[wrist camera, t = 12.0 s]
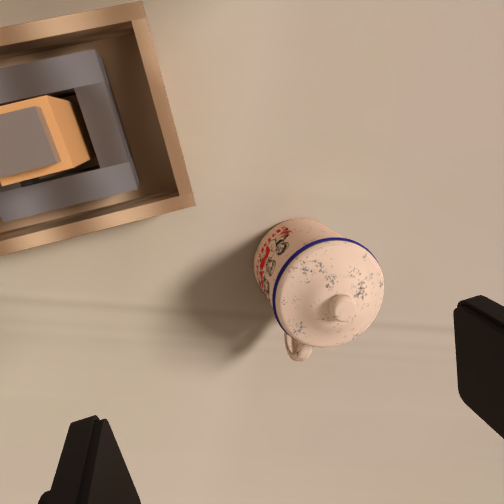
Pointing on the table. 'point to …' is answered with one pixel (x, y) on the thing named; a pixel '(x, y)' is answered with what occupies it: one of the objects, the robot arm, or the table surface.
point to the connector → (41, 138)
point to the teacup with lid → (317, 285)
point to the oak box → (93, 126)
